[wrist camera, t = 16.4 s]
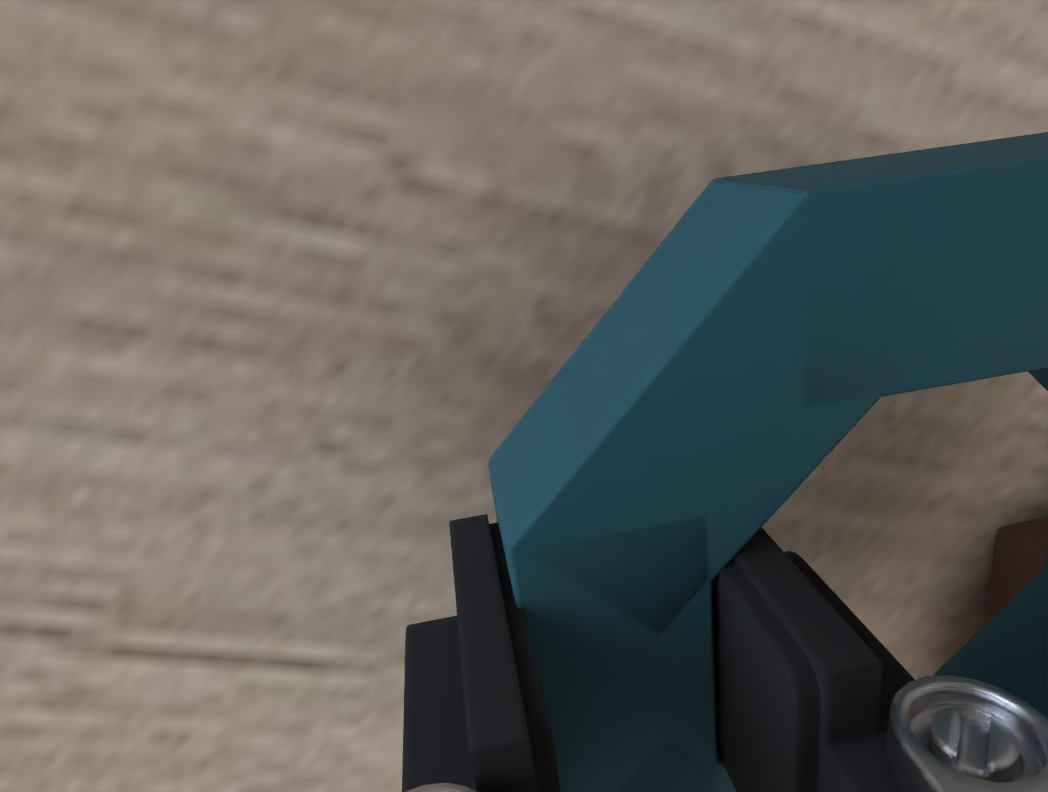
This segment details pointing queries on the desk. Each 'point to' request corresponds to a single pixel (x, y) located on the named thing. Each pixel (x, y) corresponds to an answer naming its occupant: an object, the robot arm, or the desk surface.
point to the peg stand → (1016, 562)
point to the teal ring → (755, 427)
